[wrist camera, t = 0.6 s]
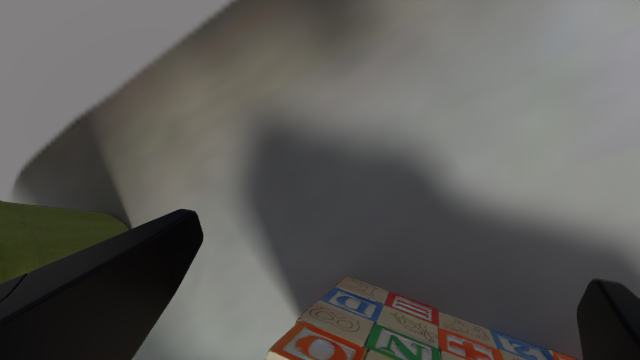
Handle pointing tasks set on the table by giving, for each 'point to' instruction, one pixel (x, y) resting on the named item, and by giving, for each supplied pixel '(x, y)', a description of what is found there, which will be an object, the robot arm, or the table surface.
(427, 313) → the stack of blocks
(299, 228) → the table surface
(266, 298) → the table surface
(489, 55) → the table surface
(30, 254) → the plant pot
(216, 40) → the table surface
